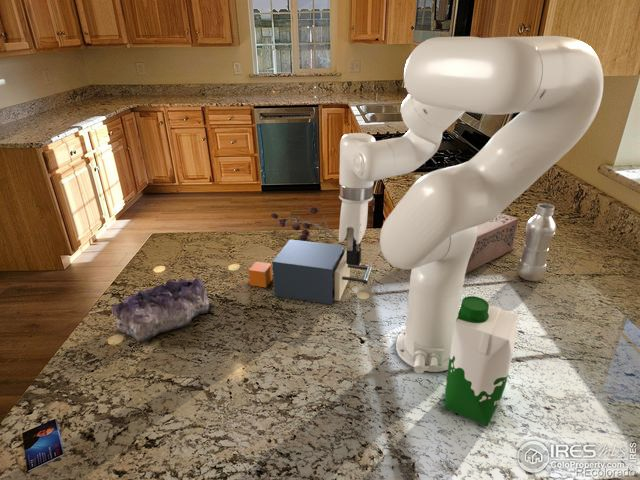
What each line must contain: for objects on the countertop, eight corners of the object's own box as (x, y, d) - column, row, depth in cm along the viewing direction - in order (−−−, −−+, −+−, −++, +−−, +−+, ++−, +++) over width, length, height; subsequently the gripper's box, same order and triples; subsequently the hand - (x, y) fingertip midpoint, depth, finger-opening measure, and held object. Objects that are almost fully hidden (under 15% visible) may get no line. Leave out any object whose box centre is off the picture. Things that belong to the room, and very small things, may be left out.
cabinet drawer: (373, 280, 109) (374, 253, 105) (364, 305, 99) (366, 276, 95) (300, 270, 114) (299, 244, 110) (285, 293, 104) (284, 265, 100)
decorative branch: (267, 202, 144) (339, 202, 126) (281, 219, 150) (352, 221, 132) (251, 228, 139) (325, 232, 121) (266, 244, 145) (338, 251, 127)
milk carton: (452, 377, 79) (467, 286, 70) (503, 397, 74) (526, 301, 66) (437, 410, 72) (451, 312, 63) (492, 433, 68) (516, 332, 59)
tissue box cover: (457, 277, 111) (462, 243, 107) (415, 257, 122) (418, 225, 117) (511, 249, 125) (518, 218, 121) (470, 233, 136) (474, 204, 131)
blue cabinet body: (343, 278, 112) (344, 245, 107) (331, 304, 101) (332, 269, 96) (291, 271, 115) (290, 239, 111) (274, 295, 104) (272, 261, 100)
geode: (196, 293, 106) (194, 259, 101) (218, 319, 99) (218, 284, 94) (110, 323, 94) (103, 286, 89) (128, 355, 86) (122, 317, 81)
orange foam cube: (266, 287, 108) (264, 272, 106) (249, 285, 109) (248, 269, 107) (272, 278, 112) (271, 263, 110) (256, 276, 113) (255, 261, 111)
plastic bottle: (546, 285, 107) (565, 212, 99) (518, 282, 109) (534, 210, 100) (540, 272, 113) (557, 202, 104) (513, 270, 114) (528, 200, 106)
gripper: (346, 179, 101) (345, 247, 109) (331, 201, 88) (330, 276, 96) (378, 182, 99) (374, 251, 107) (366, 204, 86) (363, 281, 94)
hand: (353, 263), depth 102 cm, fingers closed
